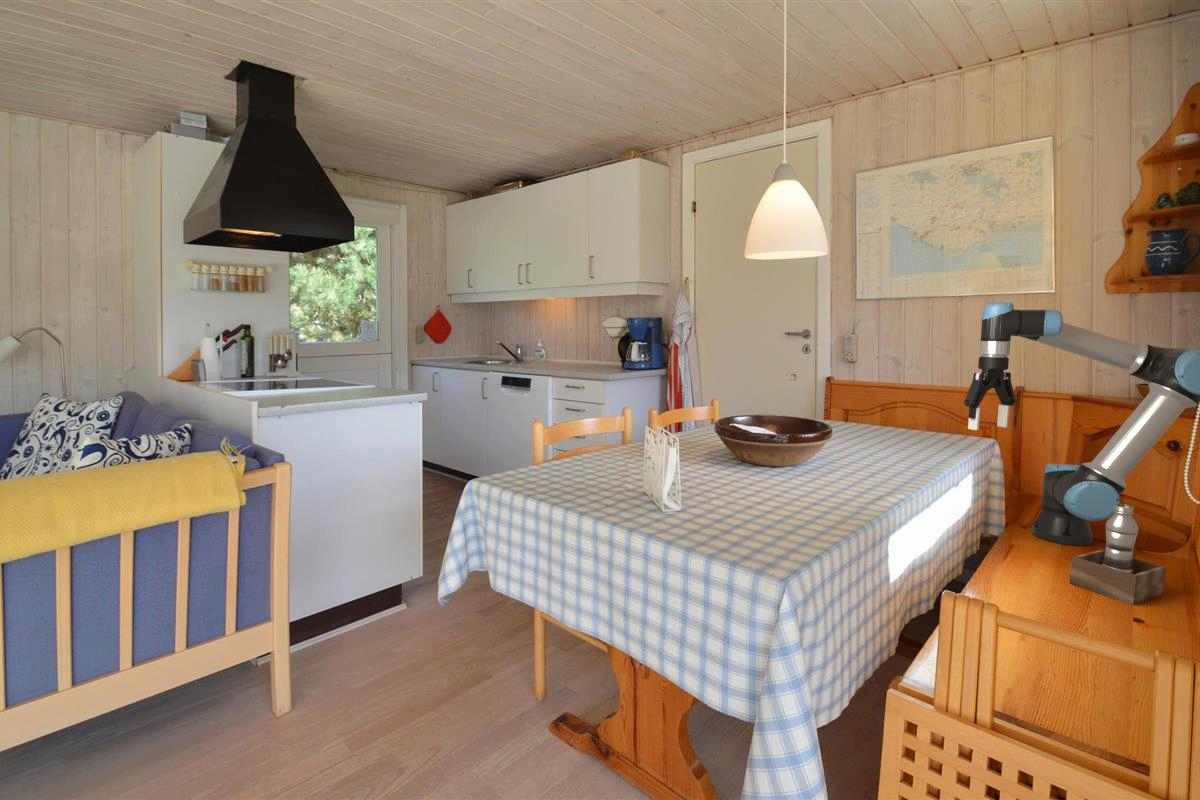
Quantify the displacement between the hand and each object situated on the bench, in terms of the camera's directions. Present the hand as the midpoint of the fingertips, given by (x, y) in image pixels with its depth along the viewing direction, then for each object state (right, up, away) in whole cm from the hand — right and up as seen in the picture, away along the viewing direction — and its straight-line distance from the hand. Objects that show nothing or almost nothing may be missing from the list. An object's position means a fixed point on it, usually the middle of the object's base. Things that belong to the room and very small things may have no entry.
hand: (987, 428), depth 189 cm
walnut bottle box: (+13, -39, -30) cm, 51 cm away
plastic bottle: (+14, -38, -30) cm, 50 cm away
